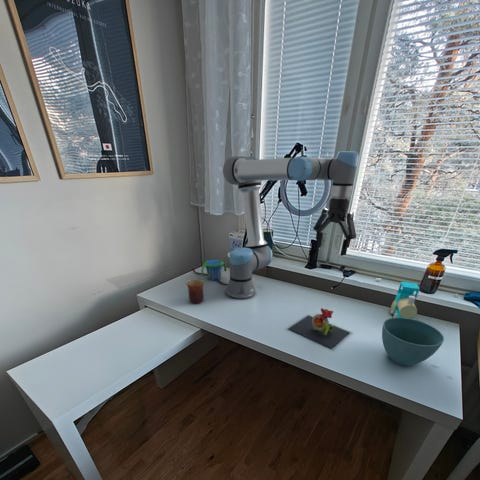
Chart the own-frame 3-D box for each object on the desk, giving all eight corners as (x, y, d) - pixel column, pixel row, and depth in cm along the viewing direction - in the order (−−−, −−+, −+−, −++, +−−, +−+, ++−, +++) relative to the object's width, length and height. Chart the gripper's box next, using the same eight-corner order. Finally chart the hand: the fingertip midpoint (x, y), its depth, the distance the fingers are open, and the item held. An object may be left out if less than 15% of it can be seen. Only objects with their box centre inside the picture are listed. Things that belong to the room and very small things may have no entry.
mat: (288, 329, 114) (288, 328, 114) (308, 316, 124) (308, 315, 124) (331, 349, 102) (331, 348, 102) (349, 332, 112) (349, 332, 112)
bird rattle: (311, 337, 112) (332, 336, 106) (305, 312, 109) (326, 310, 103) (317, 331, 116) (338, 330, 110) (311, 307, 113) (332, 305, 107)
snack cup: (204, 283, 156) (203, 266, 151) (199, 277, 165) (198, 261, 159) (229, 279, 161) (229, 263, 156) (223, 273, 170) (223, 258, 164)
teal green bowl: (369, 362, 95) (379, 333, 89) (378, 338, 108) (387, 312, 102) (428, 382, 87) (444, 352, 81) (430, 354, 100) (444, 326, 94)
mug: (203, 305, 132) (202, 286, 127) (186, 304, 132) (184, 285, 127) (207, 295, 142) (206, 276, 137) (190, 294, 142) (189, 276, 137)
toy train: (393, 326, 117) (405, 295, 109) (389, 310, 130) (399, 281, 123) (414, 330, 114) (427, 298, 107) (407, 312, 128) (418, 283, 120)
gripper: (374, 200, 98) (360, 257, 109) (321, 194, 115) (314, 243, 126) (362, 201, 94) (349, 260, 105) (309, 195, 112) (303, 245, 123)
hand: (330, 251), depth 116 cm, fingers open, 13 cm apart
